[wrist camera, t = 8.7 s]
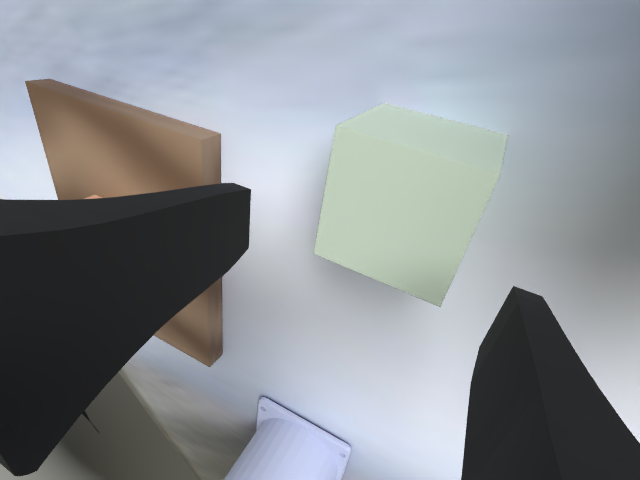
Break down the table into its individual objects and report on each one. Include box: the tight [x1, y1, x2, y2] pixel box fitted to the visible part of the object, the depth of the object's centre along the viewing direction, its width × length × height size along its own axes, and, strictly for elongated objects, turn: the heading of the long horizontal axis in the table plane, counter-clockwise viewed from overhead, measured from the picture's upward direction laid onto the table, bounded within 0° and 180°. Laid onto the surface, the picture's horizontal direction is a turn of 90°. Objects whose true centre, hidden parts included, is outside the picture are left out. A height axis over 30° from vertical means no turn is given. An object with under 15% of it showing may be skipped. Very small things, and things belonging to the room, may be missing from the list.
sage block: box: [314, 103, 508, 307], centre depth 14 cm, size 5×5×5 cm
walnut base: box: [25, 79, 222, 367], centre depth 26 cm, size 18×14×2 cm
